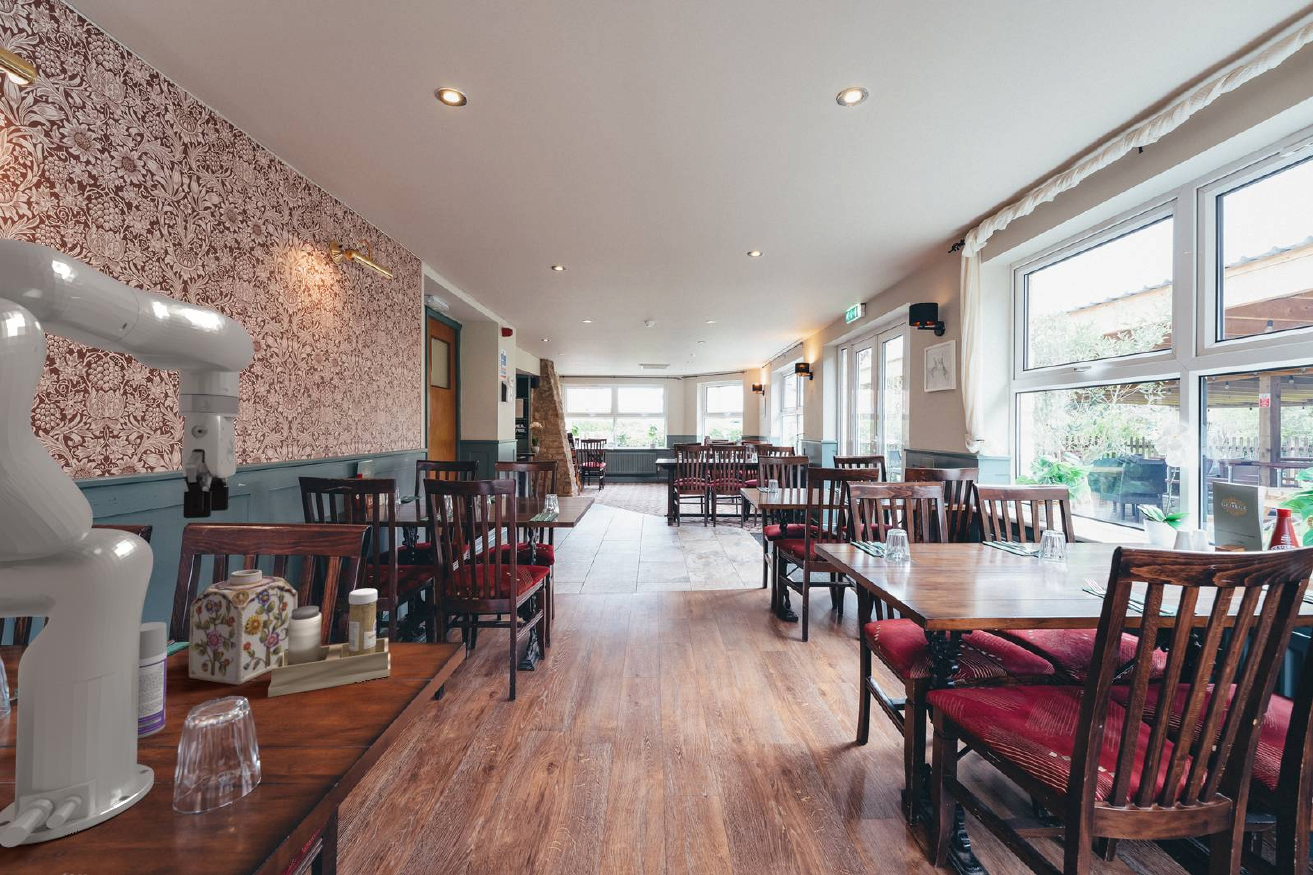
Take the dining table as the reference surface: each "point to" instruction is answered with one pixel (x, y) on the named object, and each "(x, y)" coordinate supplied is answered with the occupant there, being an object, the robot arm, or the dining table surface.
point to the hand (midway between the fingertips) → (207, 513)
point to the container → (152, 678)
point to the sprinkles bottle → (362, 621)
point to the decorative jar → (239, 627)
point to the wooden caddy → (321, 659)
